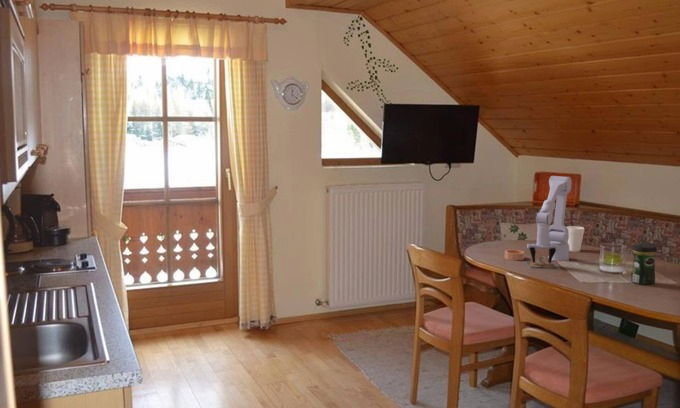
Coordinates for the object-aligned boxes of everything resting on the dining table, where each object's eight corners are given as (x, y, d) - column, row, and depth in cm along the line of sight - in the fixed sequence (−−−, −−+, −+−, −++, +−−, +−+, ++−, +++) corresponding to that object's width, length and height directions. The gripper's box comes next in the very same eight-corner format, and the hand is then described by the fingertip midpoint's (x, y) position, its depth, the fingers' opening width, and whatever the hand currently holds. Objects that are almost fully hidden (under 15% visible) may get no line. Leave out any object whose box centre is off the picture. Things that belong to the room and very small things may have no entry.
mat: (554, 263, 323) (554, 262, 323) (561, 271, 308) (561, 270, 307) (522, 262, 325) (522, 261, 325) (527, 269, 309) (527, 268, 309)
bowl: (522, 257, 336) (522, 250, 336) (525, 261, 327) (525, 253, 326) (503, 256, 338) (503, 249, 337) (506, 260, 328) (506, 253, 328)
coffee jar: (645, 280, 292) (649, 240, 289) (657, 284, 284) (661, 244, 281) (627, 281, 290) (630, 241, 287) (638, 285, 282) (641, 245, 280)
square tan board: (551, 263, 321) (551, 254, 321) (556, 268, 310) (556, 260, 309) (527, 262, 323) (527, 254, 322) (531, 268, 311) (531, 259, 310)
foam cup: (580, 248, 359) (581, 226, 357) (585, 252, 350) (586, 229, 348) (563, 248, 360) (564, 225, 358) (567, 251, 351) (568, 228, 349)
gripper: (529, 237, 311) (528, 264, 313) (559, 238, 309) (558, 265, 311) (526, 234, 318) (525, 260, 320) (556, 235, 316) (555, 261, 318)
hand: (541, 262), depth 316 cm, fingers open, 7 cm apart
